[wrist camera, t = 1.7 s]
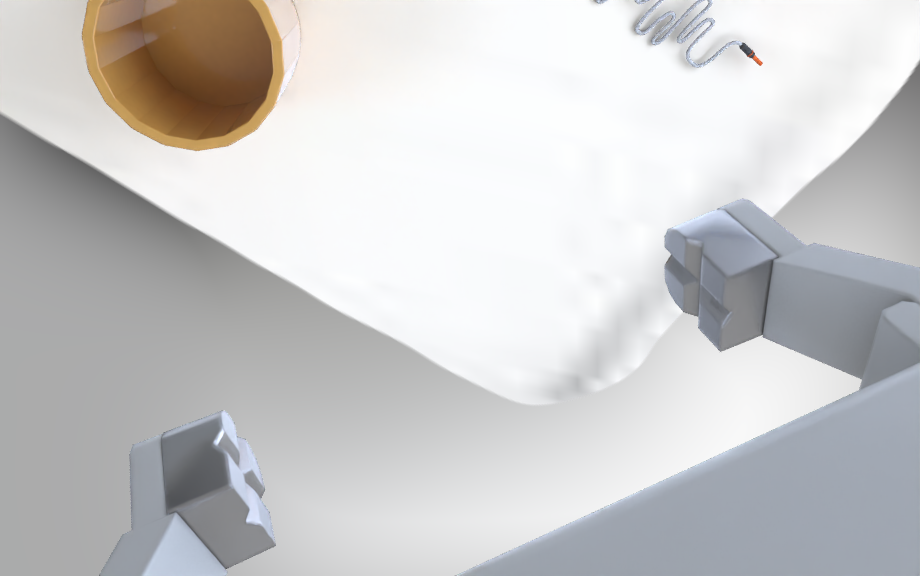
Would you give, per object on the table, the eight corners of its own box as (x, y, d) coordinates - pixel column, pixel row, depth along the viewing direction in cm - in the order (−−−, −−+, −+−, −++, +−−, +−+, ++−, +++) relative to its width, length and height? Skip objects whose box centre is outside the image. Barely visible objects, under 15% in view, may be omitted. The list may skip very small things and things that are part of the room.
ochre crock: (216, -96, 43) (178, -99, 35) (334, 45, 47) (324, 71, 39) (100, 17, 45) (38, 38, 37) (222, 142, 49) (190, 186, 41)
